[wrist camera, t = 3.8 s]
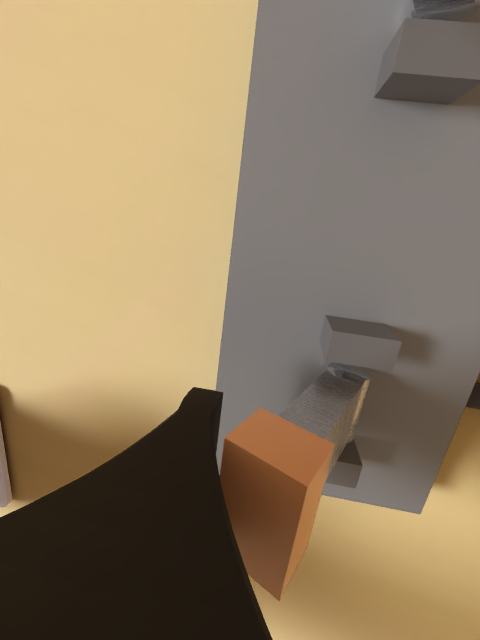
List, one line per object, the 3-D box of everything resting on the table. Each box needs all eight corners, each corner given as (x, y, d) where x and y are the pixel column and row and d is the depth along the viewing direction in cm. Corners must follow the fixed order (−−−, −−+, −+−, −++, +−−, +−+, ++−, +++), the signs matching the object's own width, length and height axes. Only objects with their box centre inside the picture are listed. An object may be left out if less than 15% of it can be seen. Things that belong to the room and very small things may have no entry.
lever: (315, 417, 12) (210, 543, 7) (331, 349, 11) (224, 437, 6) (361, 439, 11) (279, 600, 6) (383, 366, 10) (307, 486, 5)
